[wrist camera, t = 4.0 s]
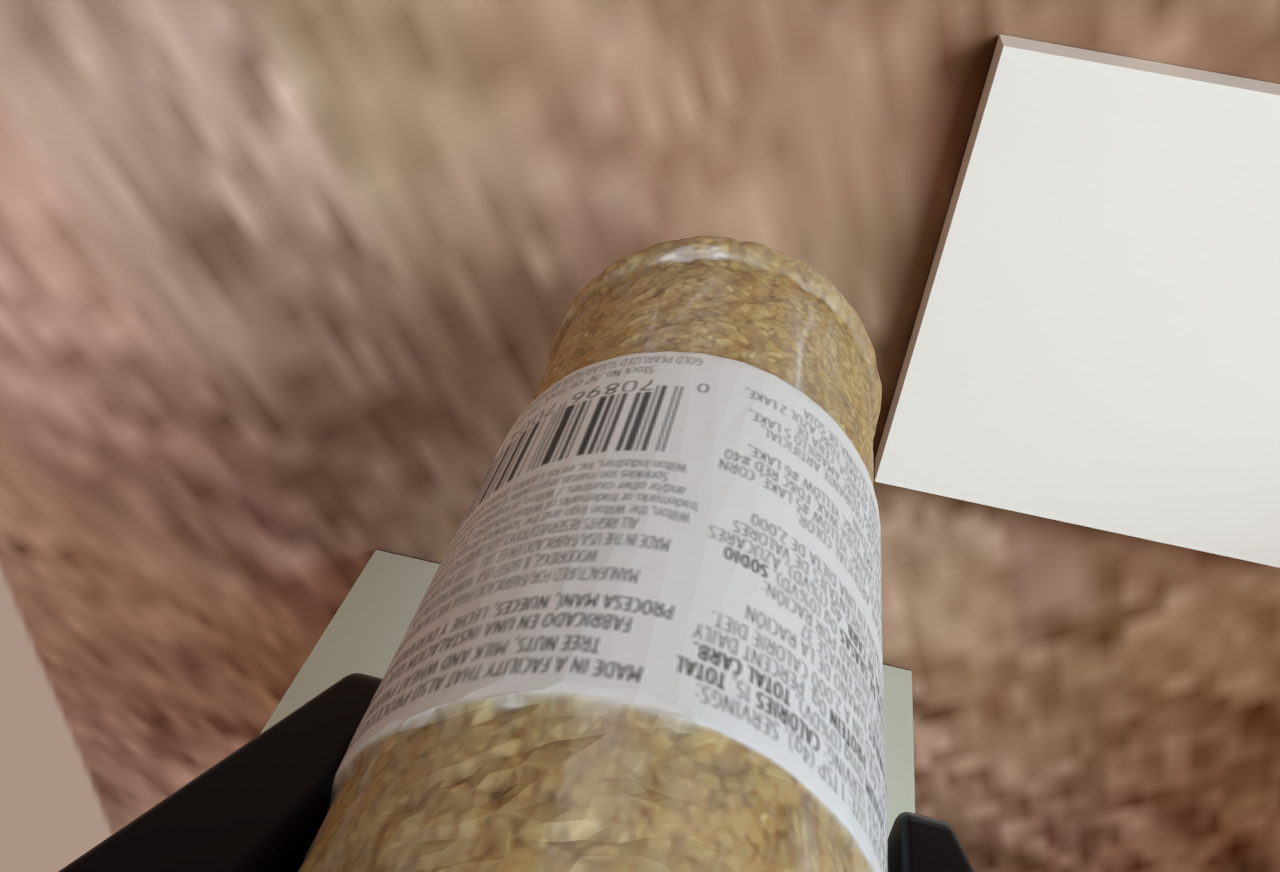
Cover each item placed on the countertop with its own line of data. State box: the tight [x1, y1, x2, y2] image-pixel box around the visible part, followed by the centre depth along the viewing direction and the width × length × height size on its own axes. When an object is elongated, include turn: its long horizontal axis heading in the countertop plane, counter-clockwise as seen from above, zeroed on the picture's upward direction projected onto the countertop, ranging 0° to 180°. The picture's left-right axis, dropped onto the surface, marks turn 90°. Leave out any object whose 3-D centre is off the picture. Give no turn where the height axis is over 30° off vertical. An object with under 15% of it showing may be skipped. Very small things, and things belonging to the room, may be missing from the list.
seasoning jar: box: [298, 236, 888, 872], centre depth 10 cm, size 5×5×14 cm
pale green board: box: [260, 550, 915, 837], centre depth 22 cm, size 12×2×10 cm, turn 82°
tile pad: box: [875, 34, 1280, 568], centre depth 19 cm, size 8×8×1 cm
